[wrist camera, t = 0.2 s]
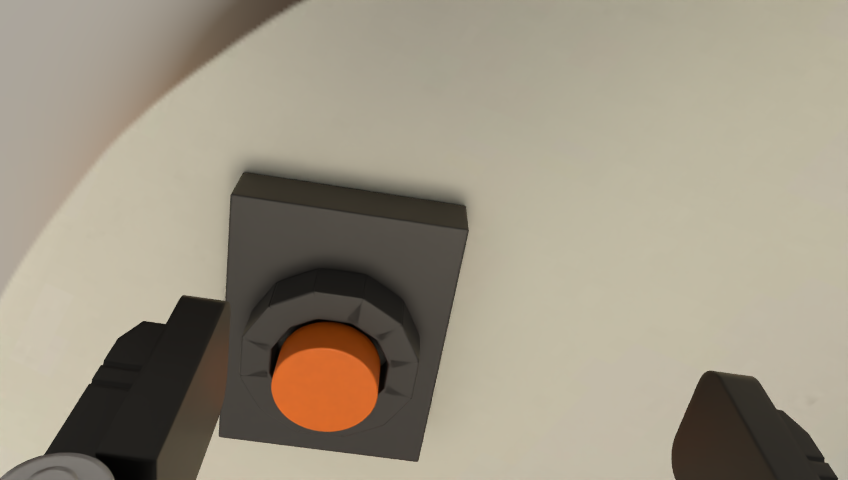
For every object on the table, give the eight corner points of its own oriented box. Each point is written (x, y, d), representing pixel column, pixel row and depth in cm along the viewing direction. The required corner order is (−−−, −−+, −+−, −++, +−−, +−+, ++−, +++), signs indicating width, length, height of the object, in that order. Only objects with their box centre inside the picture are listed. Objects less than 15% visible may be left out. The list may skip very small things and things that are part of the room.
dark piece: (243, 171, 29) (218, 215, 26) (466, 205, 30) (471, 252, 26) (229, 404, 35) (207, 467, 31) (418, 429, 35) (417, 493, 32)
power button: (283, 314, 28) (274, 341, 27) (387, 328, 28) (385, 356, 27) (275, 395, 30) (267, 425, 28) (373, 408, 30) (370, 438, 29)
